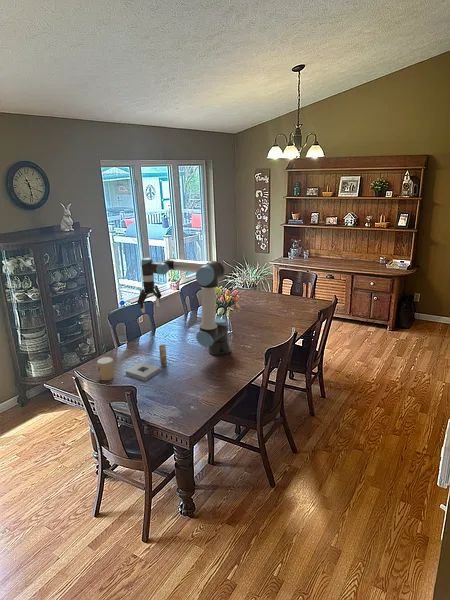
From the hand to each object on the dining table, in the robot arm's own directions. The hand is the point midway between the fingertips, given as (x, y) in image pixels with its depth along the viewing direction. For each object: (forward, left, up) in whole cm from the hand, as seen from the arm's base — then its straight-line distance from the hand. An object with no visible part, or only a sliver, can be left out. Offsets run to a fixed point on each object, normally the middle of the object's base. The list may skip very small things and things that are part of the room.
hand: (150, 309), depth 285 cm
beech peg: (-27, +21, -27) cm, 44 cm away
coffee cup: (-7, +51, -27) cm, 58 cm away
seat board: (-22, +35, -27) cm, 49 cm away
